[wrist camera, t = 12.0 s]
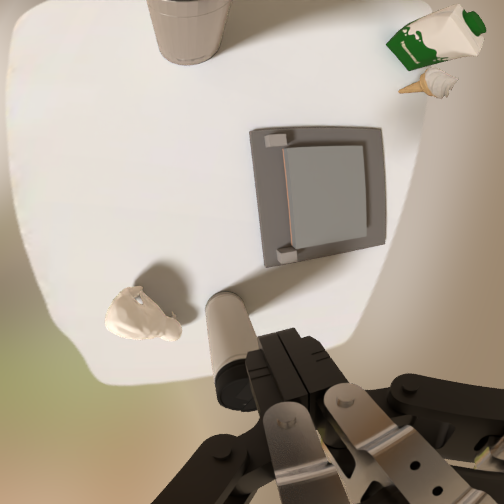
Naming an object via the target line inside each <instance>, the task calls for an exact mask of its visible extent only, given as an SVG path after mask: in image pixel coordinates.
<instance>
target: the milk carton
mask: <svg viewBox="0 0 504 504" xmlns="http://www.w3.org/2000/svg"><path fill="white" fill-rule="evenodd" d="M485 32H486V27H485V25H484V23H483V21H482V19H481V18H480V17H479V15H478V14H477V13H476V12H474V11H472V12H468V13H467V12H466V11H465V10H464V9H463V8H462V6H461V5H460V4H459V3H458V4H456V5H452V6H449V7H446V8H444V9H441V10H438V11H436V12H433V13H431V14H428V15H426V16H424V17H422V18H419V19H417V20H415V21H413V22H411V23H409V24H407V25H406V26H404V27H403V28H402V29H400V30H399V31H398V32H397V33H396V34H395V35H394V36H393V37H392V38H391V39H390V41H389V42H388V43H387V44H386V45H387V47H388V48H389V49H390V50H391V51H392V52H393V53H394V54H395V55H396V57H397V58H398V59H399V60H400V61H401V62H402V64H403V65H404V66H405V67H406V69H407V70H408V71H411V70H414V69H418V68H422V67H425V66H429V65H433V64H437V63H440V62H444V61H448V60H452V59H457V58H461V57H467V56H478V54H479V51H480V50H481V49H482V45H483V42H484V38H483V36H482V35H481V34H482V33H485Z"/></svg>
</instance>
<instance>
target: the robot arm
mask: <svg viewBox="0 0 504 504" xmlns="http://www.w3.org/2000/svg"><path fill="white" fill-rule="evenodd" d="M231 3H232V0H147V4H148V8H149V12H150V16H151V20H152V24H153V28H154V31H155V35H156V39H157V43H158V46H159V50H160V52H161V54H162V55H163V57H164V58H166V59H167V60H168V61H170V62H172V63H175V64H178V65H194V64H199V63H201V62H204V61H206V60H207V59H209V58H211V57H212V56H213V55H214V54H215V53H216V51H217V50H218V48H219V46H220V44H221V40H222V36H223V32H224V28H225V25H226V21H227V17H228V14H229V10H230V7H231ZM257 340H258V347H259V349H258V350H254V351H249V352H248V353H247V356H246V360H245V364H246V369H247V373H248V378H249V383H250V387H251V390H252V394H253V397H254V400H255V403H256V407H257V410H258V413H259V416H260V419H259V421H258V422H257V424H256V425H255V426H254V427H253V428H252V429H251V430H249V431H247V432H246V433H244V434H242V435H240V436H238V437H236V436H234V435H230V434H219V435H214V436H212V437H210V438H208V439H206V440H205V441H204V442H203V443H202V444H201V445H200V447H199V448H198V449H197V450H196V452H195V453H194V454H193V455H192V457H191V458H190V459H189V460H188V462H187V463H186V464H185V465H184V466H183V468H182V469H181V470H180V471H179V472H178V473H177V475H176V476H175V477H174V478H173V479H172V481H171V482H170V483H169V484H168V485H167V486H166V488H165V489H164V490H163V491H162V492H161V493H160V494H159V495H158V496H157V498H156V499H155V500H154V501H153V502H152V503H151V504H249V503H250V501H251V500H252V498H253V496H254V495H255V493H256V492H257V490H258V488H260V487H262V486H264V485H266V484H267V483H269V482H271V481H272V480H274V479H276V483H277V487H278V491H279V496H280V500H281V504H350V502H349V500H348V497H347V495H346V492H345V490H344V487H343V485H342V482H341V480H340V477H339V475H340V476H341V478H342V479H343V481H344V483H345V486H346V491H347V494H348V496H349V498H350V499H351V501H352V503H353V504H504V389H497V388H489V387H482V386H475V385H469V384H463V383H457V382H452V381H446V380H441V379H436V378H431V377H426V376H422V375H417V374H403V375H400V376H398V377H396V378H395V379H394V380H393V382H392V383H391V386H390V387H388V388H383V389H376V390H364V389H363V388H362V387H360V386H358V385H356V384H353V383H349V382H348V381H347V379H346V378H345V376H344V375H343V374H342V372H341V371H340V370H339V368H338V367H337V365H336V364H335V363H334V361H333V360H332V358H330V356H329V354H328V353H327V352H326V351H325V349H324V347H323V346H322V345H321V343H320V342H319V341H317V340H316V339H314V338H312V337H311V336H307V337H304V338H301V337H300V335H299V334H298V332H297V331H296V329H295V328H290V329H286V330H282V331H278V332H276V333H271V334H266V335H262V336H258V337H257ZM316 430H318V432H319V434H320V435H321V443H320V440H319V438H318V435H317V432H316ZM324 451H325V453H326V454H327V456H328V458H329V459H330V460H331V462H332V463H329V462H328V461H327V458H326V456H325V453H324ZM443 458H444V459H450V460H457V461H464V462H473V463H475V466H474V469H470V468H465V467H458V466H453V465H449V464H448V463H447V462H446V461H445V460H444V459H443ZM338 473H339V475H338Z"/></svg>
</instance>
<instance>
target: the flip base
mask: <svg viewBox="0 0 504 504" xmlns="http://www.w3.org/2000/svg"><path fill="white" fill-rule="evenodd" d="M249 135H250V144H251V152H252V160H253V169H254V177H255V186H256V195H257V203H258V212H259V221H260V230H261V239H262V248H263V257H264V265H265V267H266V268H268V267H273V266H279V265H284V264H289V263H294V262H300V261H305V260H310V259H315V258H320V257H325V256H330V255H335V254H340V253H345V252H350V251H355V250H359V249H364V248H369V247H374V246H379V245H383V244H385V177H384V161H383V148H382V138H381V129H364V128H286V129H269V130H255V131H250V132H249ZM316 146H363V157H364V171H365V188H366V221H367V236H366V237H360V238H355V239H349V240H344V241H338V242H333V243H327V244H322V245H316V246H311V247H305V248H300V249H295V248H294V247H293V246H292V245H291V232H290V220H289V209H288V198H287V187H286V177H285V168H284V159H283V150H282V149H285V148H296V147H316Z"/></svg>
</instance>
